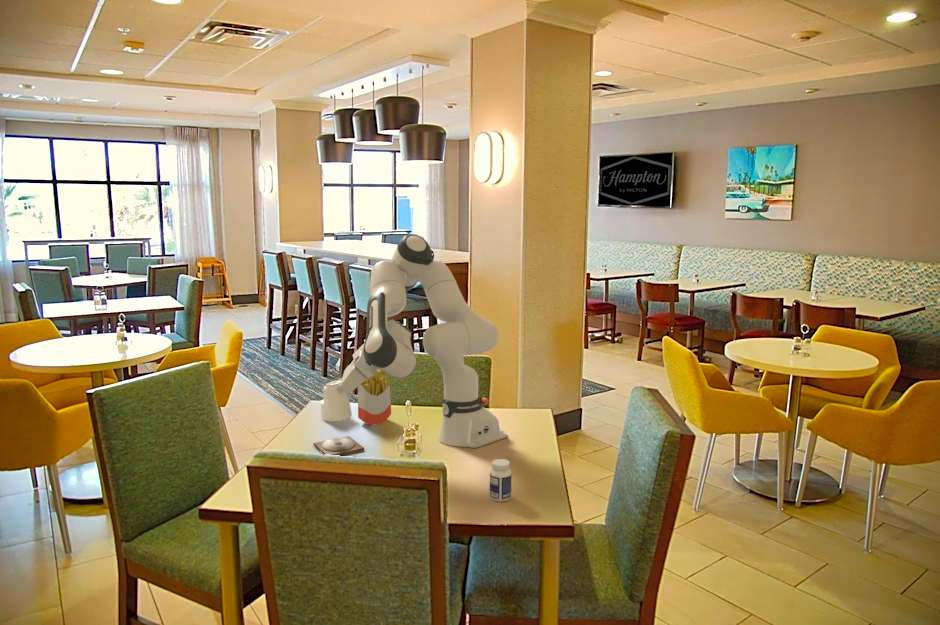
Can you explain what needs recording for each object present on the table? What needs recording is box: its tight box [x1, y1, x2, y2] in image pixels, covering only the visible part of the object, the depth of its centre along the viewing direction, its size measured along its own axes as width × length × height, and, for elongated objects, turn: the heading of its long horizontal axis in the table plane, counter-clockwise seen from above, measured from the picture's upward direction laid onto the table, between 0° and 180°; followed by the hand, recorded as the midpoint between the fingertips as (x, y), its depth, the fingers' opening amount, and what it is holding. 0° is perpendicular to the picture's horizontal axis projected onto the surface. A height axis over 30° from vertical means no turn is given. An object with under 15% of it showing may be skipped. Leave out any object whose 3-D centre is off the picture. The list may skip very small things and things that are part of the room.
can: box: [324, 378, 353, 423], centre depth 210 cm, size 6×6×12 cm
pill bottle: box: [489, 458, 512, 503], centre depth 179 cm, size 6×6×10 cm
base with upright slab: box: [319, 385, 334, 422], centre depth 241 cm, size 9×9×12 cm
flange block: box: [312, 435, 365, 456], centre depth 213 cm, size 12×12×2 cm
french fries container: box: [357, 369, 392, 427], centre depth 235 cm, size 5×11×18 cm, turn 131°
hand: (335, 392), depth 210 cm, fingers closed on can, 4 cm apart
